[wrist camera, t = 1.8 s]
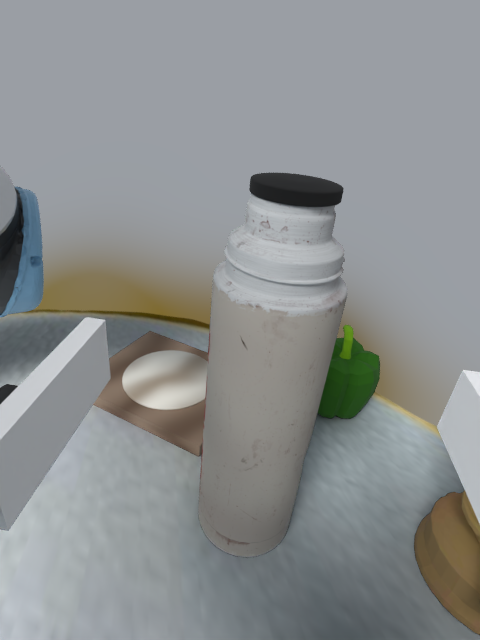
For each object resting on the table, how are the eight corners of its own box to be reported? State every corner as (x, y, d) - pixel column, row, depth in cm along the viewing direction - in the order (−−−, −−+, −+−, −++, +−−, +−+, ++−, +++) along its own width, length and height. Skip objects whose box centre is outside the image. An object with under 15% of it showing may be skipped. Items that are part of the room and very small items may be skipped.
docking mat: (72, 394, 45) (71, 382, 44) (150, 339, 56) (150, 329, 55) (199, 456, 39) (199, 444, 38) (257, 381, 50) (259, 371, 49)
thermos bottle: (179, 522, 33) (188, 172, 19) (229, 460, 39) (264, 159, 25) (262, 578, 30) (346, 205, 16) (303, 500, 36) (389, 182, 22)
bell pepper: (355, 442, 43) (380, 368, 38) (286, 411, 46) (301, 339, 41) (374, 400, 49) (397, 332, 44) (312, 375, 53) (327, 309, 48)
